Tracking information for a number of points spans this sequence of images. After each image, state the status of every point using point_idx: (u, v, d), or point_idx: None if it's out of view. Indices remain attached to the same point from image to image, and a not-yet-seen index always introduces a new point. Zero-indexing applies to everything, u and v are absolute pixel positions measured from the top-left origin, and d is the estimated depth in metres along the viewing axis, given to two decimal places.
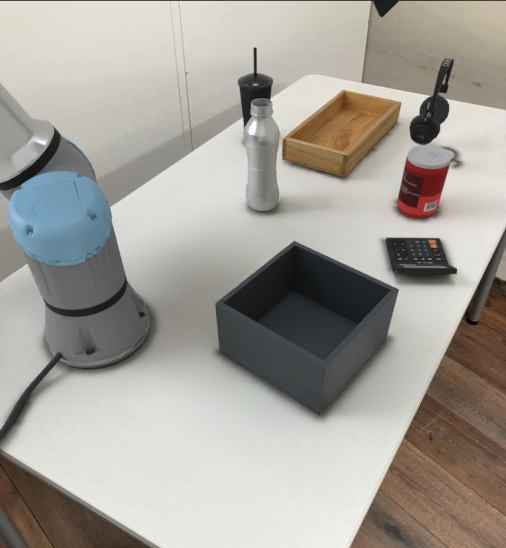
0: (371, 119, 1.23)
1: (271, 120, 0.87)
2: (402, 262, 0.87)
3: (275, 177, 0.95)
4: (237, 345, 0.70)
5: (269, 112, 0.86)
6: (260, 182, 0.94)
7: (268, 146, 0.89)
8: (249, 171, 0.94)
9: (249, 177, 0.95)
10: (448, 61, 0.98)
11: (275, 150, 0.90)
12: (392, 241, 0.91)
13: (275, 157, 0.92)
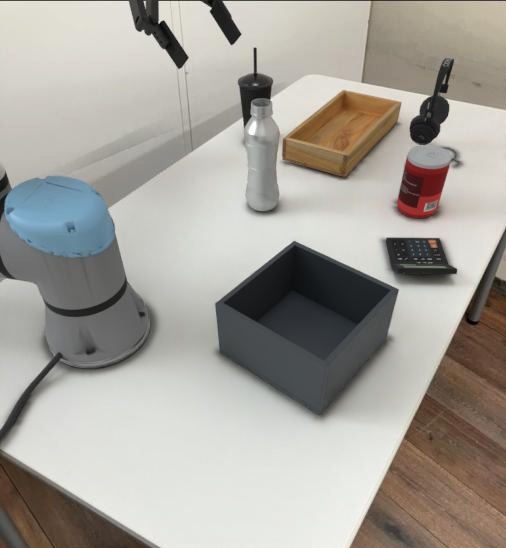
0: (371, 119, 1.23)
1: (271, 120, 0.87)
2: (402, 262, 0.87)
3: (275, 177, 0.95)
4: (237, 345, 0.70)
5: (269, 112, 0.86)
6: (260, 182, 0.94)
7: (268, 146, 0.89)
8: (249, 171, 0.94)
9: (249, 177, 0.95)
10: (448, 61, 0.98)
11: (275, 150, 0.90)
12: (392, 241, 0.91)
13: (275, 157, 0.92)
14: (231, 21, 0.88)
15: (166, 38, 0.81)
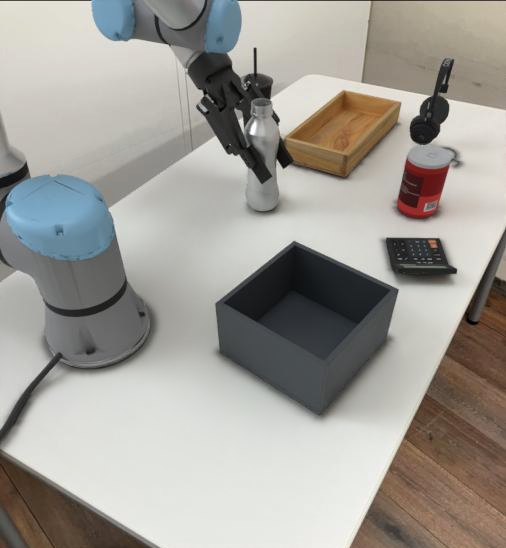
0: (371, 119, 1.23)
1: (271, 120, 0.87)
2: (402, 262, 0.87)
3: (275, 177, 0.95)
4: (237, 345, 0.70)
5: (269, 112, 0.86)
6: None
7: (268, 146, 0.89)
8: (249, 171, 0.94)
9: (249, 177, 0.95)
10: (448, 61, 0.98)
11: (275, 150, 0.90)
12: (392, 241, 0.91)
13: (275, 157, 0.92)
14: (285, 149, 0.93)
15: (253, 160, 0.89)
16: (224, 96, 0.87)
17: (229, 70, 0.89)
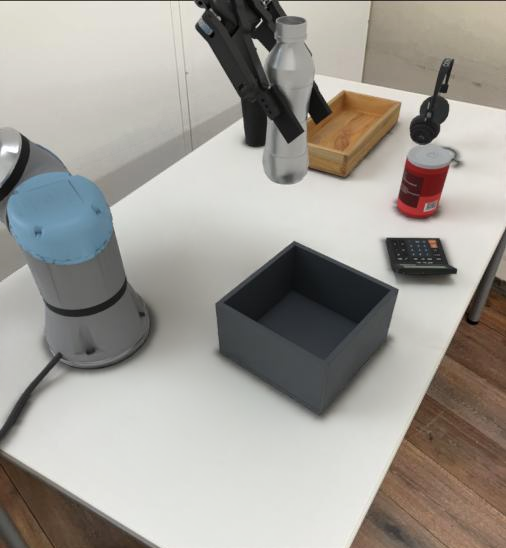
0: (371, 119, 1.23)
1: (304, 48, 0.60)
2: (402, 262, 0.87)
3: (305, 136, 0.68)
4: (237, 345, 0.70)
5: (302, 34, 0.59)
6: None
7: (299, 86, 0.61)
8: (269, 127, 0.67)
9: (269, 135, 0.68)
10: (448, 61, 0.98)
11: (308, 94, 0.63)
12: (392, 241, 0.91)
13: (307, 105, 0.65)
14: (320, 96, 0.66)
15: (277, 107, 0.62)
16: (236, 13, 0.60)
17: None
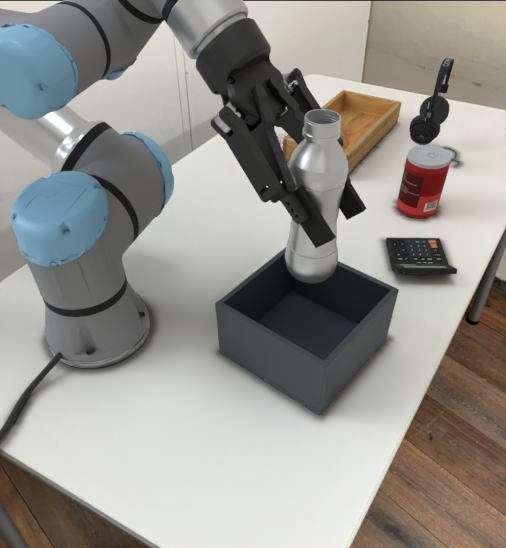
0: (371, 119, 1.23)
1: (337, 146, 0.52)
2: (402, 262, 0.87)
3: (335, 233, 0.59)
4: (237, 345, 0.70)
5: (336, 133, 0.50)
6: None
7: (330, 188, 0.53)
8: (294, 224, 0.59)
9: (293, 233, 0.59)
10: (448, 61, 0.98)
11: (340, 194, 0.55)
12: (392, 241, 0.91)
13: (338, 204, 0.56)
14: (352, 191, 0.58)
15: (305, 211, 0.54)
16: (258, 105, 0.52)
17: (265, 62, 0.54)
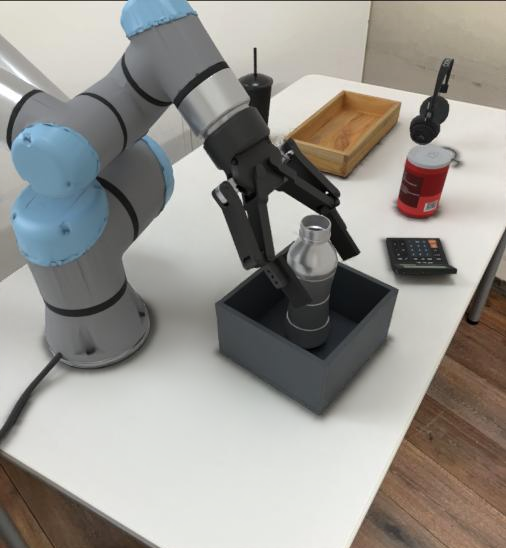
0: (371, 119, 1.23)
1: (328, 244, 0.62)
2: (402, 262, 0.87)
3: (327, 309, 0.69)
4: (237, 345, 0.70)
5: (327, 236, 0.60)
6: (308, 318, 0.68)
7: (322, 278, 0.63)
8: None
9: (292, 310, 0.69)
10: (448, 61, 0.98)
11: (331, 281, 0.65)
12: (392, 241, 0.91)
13: (330, 287, 0.66)
14: (348, 237, 0.65)
15: (284, 278, 0.59)
16: (256, 182, 0.58)
17: (265, 141, 0.60)
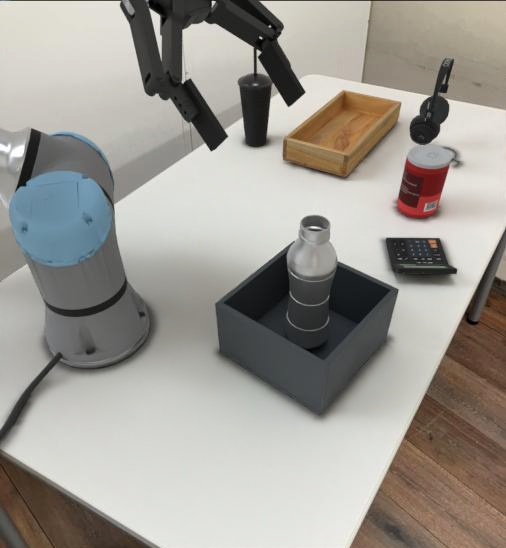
0: (371, 119, 1.23)
1: (328, 245, 0.62)
2: (402, 262, 0.87)
3: (327, 309, 0.69)
4: (237, 345, 0.70)
5: (326, 237, 0.60)
6: (308, 318, 0.68)
7: (322, 279, 0.63)
8: (292, 303, 0.69)
9: (292, 310, 0.69)
10: (448, 61, 0.98)
11: (331, 281, 0.65)
12: (392, 241, 0.91)
13: (329, 288, 0.66)
14: (291, 73, 0.58)
15: (193, 107, 0.51)
16: None
17: None
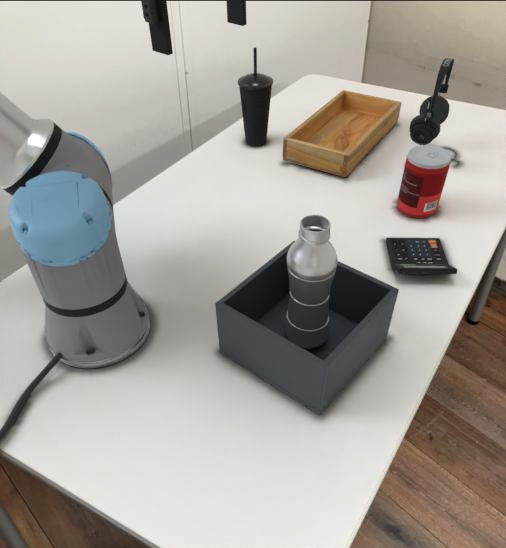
0: (371, 119, 1.23)
1: (328, 245, 0.62)
2: (402, 262, 0.87)
3: (327, 309, 0.69)
4: (237, 345, 0.70)
5: (326, 237, 0.60)
6: (308, 318, 0.68)
7: (322, 279, 0.63)
8: (292, 303, 0.69)
9: (292, 310, 0.69)
10: (448, 61, 0.98)
11: (331, 281, 0.65)
12: (392, 241, 0.91)
13: (329, 288, 0.66)
14: (243, 3, 0.66)
15: (156, 15, 0.57)
16: None
17: None
